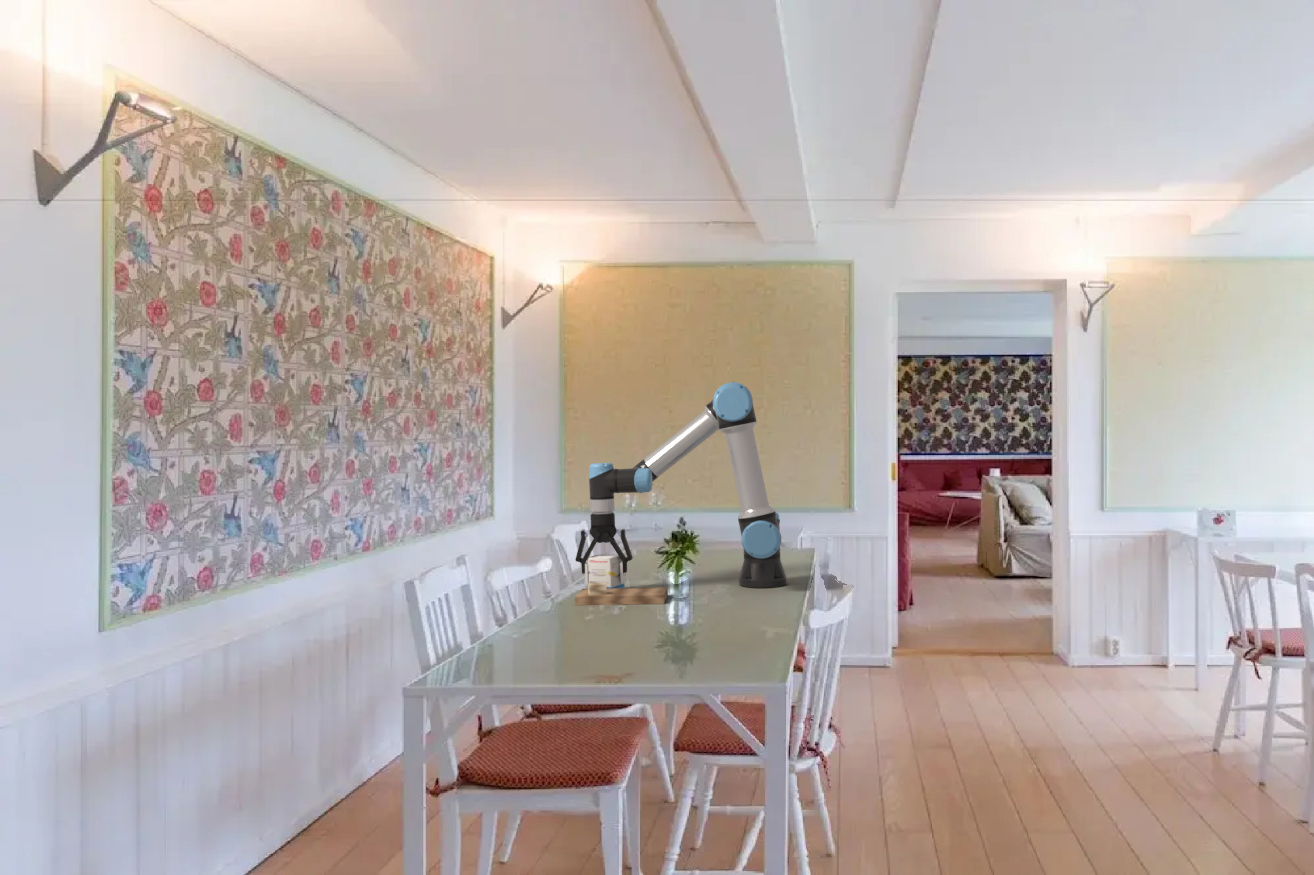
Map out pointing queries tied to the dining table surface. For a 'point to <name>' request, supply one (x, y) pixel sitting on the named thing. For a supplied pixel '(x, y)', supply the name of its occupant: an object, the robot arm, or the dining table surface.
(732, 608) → the dining table surface
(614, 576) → the ink box
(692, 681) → the dining table surface
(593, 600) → the board
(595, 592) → the beech offcut
